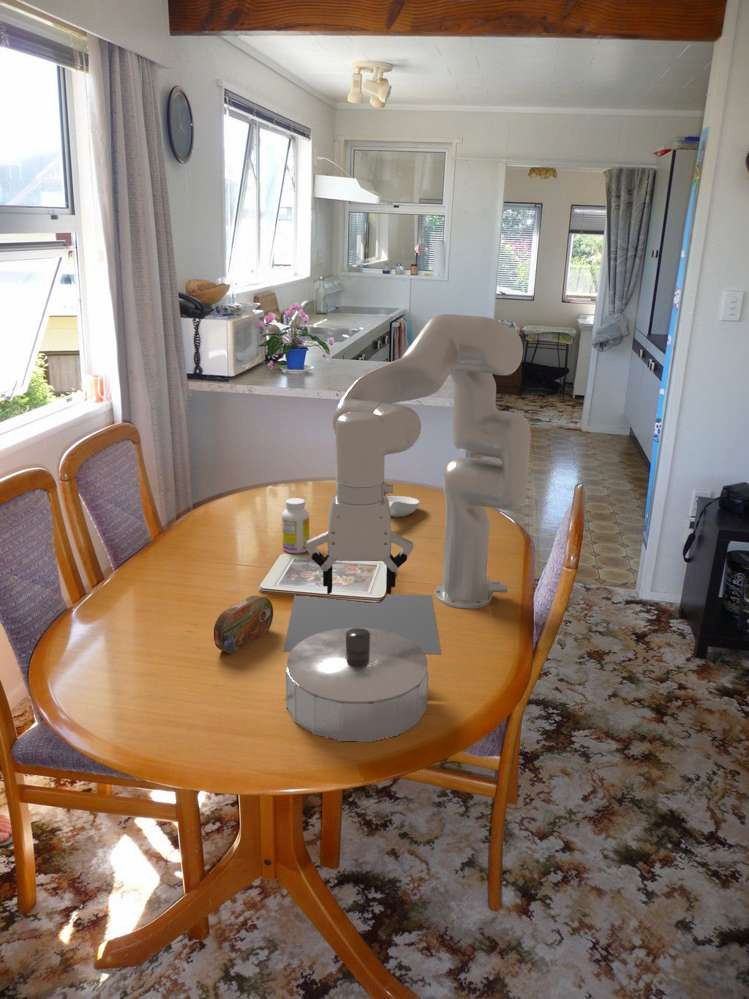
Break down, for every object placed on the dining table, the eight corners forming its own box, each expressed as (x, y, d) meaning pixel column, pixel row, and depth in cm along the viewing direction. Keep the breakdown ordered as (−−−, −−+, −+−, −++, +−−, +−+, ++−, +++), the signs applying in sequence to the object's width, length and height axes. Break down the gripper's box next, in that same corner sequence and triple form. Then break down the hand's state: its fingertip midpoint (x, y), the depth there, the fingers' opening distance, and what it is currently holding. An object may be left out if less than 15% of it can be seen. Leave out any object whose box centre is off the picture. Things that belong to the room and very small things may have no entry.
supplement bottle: (305, 543, 208) (305, 495, 204) (312, 552, 202) (312, 503, 198) (280, 545, 206) (279, 497, 202) (285, 555, 200) (285, 506, 196)
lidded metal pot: (421, 666, 152) (424, 603, 147) (430, 743, 129) (434, 672, 125) (293, 663, 151) (292, 601, 147) (280, 741, 129) (279, 669, 125)
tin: (224, 661, 152) (222, 620, 149) (211, 656, 153) (209, 616, 151) (275, 629, 164) (274, 591, 161) (262, 625, 165) (261, 587, 163)
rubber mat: (431, 596, 180) (431, 595, 180) (441, 655, 155) (441, 654, 155) (295, 594, 179) (295, 592, 179) (283, 653, 155) (283, 651, 155)
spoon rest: (384, 504, 239) (384, 481, 236) (423, 509, 236) (424, 485, 233) (360, 532, 217) (360, 506, 215) (403, 537, 214) (403, 511, 212)
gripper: (413, 484, 131) (410, 580, 137) (306, 483, 131) (307, 579, 137) (416, 500, 124) (413, 601, 130) (302, 499, 124) (304, 600, 130)
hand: (359, 590), depth 134 cm, fingers open, 9 cm apart
